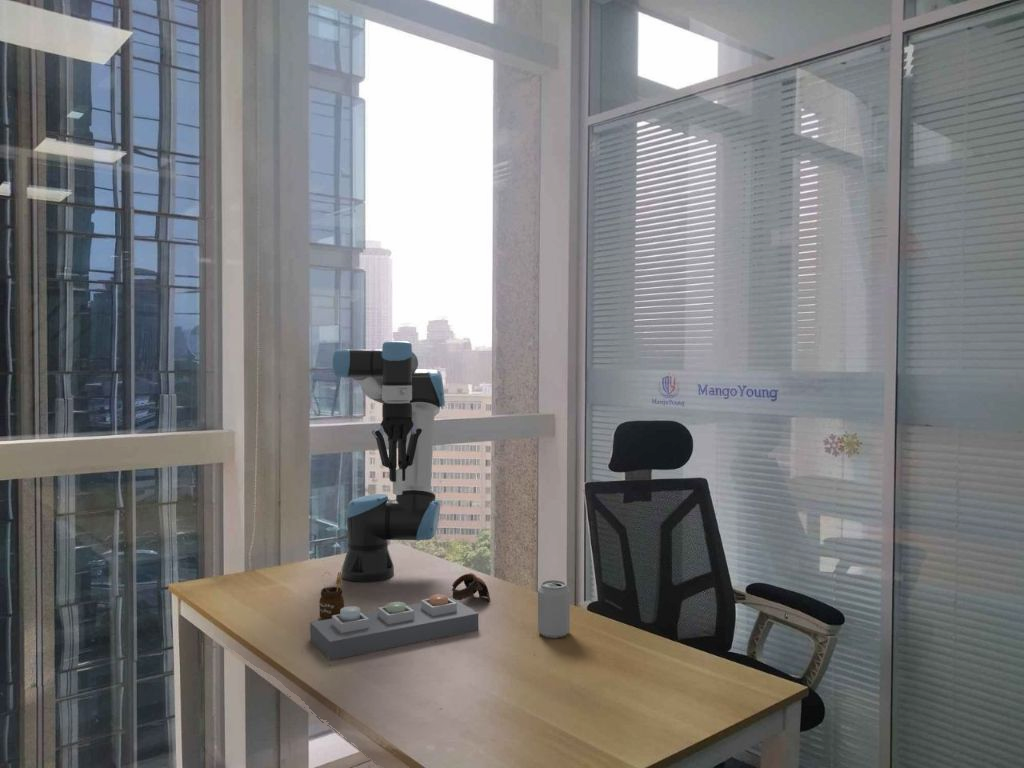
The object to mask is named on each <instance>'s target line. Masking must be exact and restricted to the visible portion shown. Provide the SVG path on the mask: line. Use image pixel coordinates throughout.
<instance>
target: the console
mask: <svg viewBox="0 0 1024 768" xmlns="http://www.w3.org/2000/svg"><path fill="white" fill-rule="evenodd" d="M405 605H406V604H405ZM309 626H310V627H309V629H310V630H309V631H310V640H311V641H312V643H313V644H314V645H315V646H316V647H317V648H318V649H319V650H320V652H322V654H324V656H325V657H326V656H327V657H326V658H327V659H328V660H329V661H334V660H337V659H338V658H339V659H342V658H347V657H352V656H357V655H363V654H368V653H372V652H371V651H373V652H376V651H375V650H378V651H381V650H380V649H383V650H386V649H385V648H388V649H391V648H390V647H393V648H396V646H397V647H402V646H407V645H412V644H417V643H421V641H422V642H425V640H427V641H431V640H430V639H432V640H436V638H437V639H440V638H441V637H442V638H445V637H450V636H456V635H461V634H466V633H469V632H475V631H479V613H478V612H477V611H475V610H473V609H472V608H470V607H469V606H467V605H465V604H464V603H462V602H460V600H455V599H454V598H452V597H448V604H444V605H439V606H432V605H431V604H430V598H425V599H421V600H420V602H419V603H417V602H416V603H413V604H407V605H406V611H405V612H400V613H394V614H389V613H387V612H386V605H384V606H381V607H380V606H379V607H377V610H374V611H373V610H371V611H368V612H361V611H360V619H359V620H355V621H350V622H347V621H342V620H341V619H340V614H339V615H333V616H332V619H327V620H322V619H320V620H316V621H310V625H309ZM416 642H417V643H416ZM406 644H407V645H406ZM401 645H402V646H401ZM367 652H368V653H367ZM339 659H338V660H339Z"/></svg>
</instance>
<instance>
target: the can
mask: <svg viewBox="0 0 1024 768" xmlns="http://www.w3.org/2000/svg"><path fill="white" fill-rule="evenodd" d="M570 611H571V591H570V588H569V587H568V583H567V582H566V581H564V580H557V579H549V580H544V581H541V582H540V587H538V589H537V632H538V633H539V634H540V635H541V636H542V635H543V636H542V637H544V636H545V638H548V637H549V639H558V637H561V638H563V637H562V636H564V637H566V636H567V634H569V632H570V629H571V628H570V625H571V623H570V622H571V615H570ZM550 637H551V638H550Z"/></svg>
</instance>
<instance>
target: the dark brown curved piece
mask: <svg viewBox="0 0 1024 768" xmlns="http://www.w3.org/2000/svg"><path fill="white" fill-rule="evenodd" d="M462 583H463V584H464V586H465V588H463V589H457V587H458V586H459V585H461V584H462ZM451 586H452V588H451V591H452V596H451V598H454V599H455V600H457V601H462V600H465V599H468V598H475V596H474V595H475V594H476V593H478V597H479V598H482V597H483V598H487V603H491V598H490V597H491V596H490V592H489V589H488V586H487V584H486V583H485V581H484V580H483V579H482V578H480V577H478V576H477V575H475V574H474V573H471V572H469V573H466V574H463V575H461V576H459V577H458V578H457V579H456V580H455V581H454V582H453V583H452V585H451Z"/></svg>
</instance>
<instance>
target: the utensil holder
mask: <svg viewBox="0 0 1024 768" xmlns="http://www.w3.org/2000/svg"><path fill="white" fill-rule="evenodd" d="M325 575H328V576H329V578H328V576H326V577H325ZM342 575H343V571H342V570H341V571H340V572H337V577H336V581H335V585H337V586H333V585H332V584H330V586H329V583H327V586H324V587H323V588H322V589H321V590H320V597H319V598H320V599H319V601H318V602H319V605H318V606H319V608H318V609H319V612H318V613H319V619H320V620H327V619H332V616H333V615H339V614H340V609H342V608H344V607H345V600H344V596H343V588H341V587H340V584H341V583H342V580H343V577H342ZM321 577H325V578H326V581H328V579H329V580H330V583H332V575H331V574H330V572H328V571H326V572H324V574H322V575H321ZM325 578H322V579H321V580H322V583H323V584H325Z"/></svg>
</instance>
